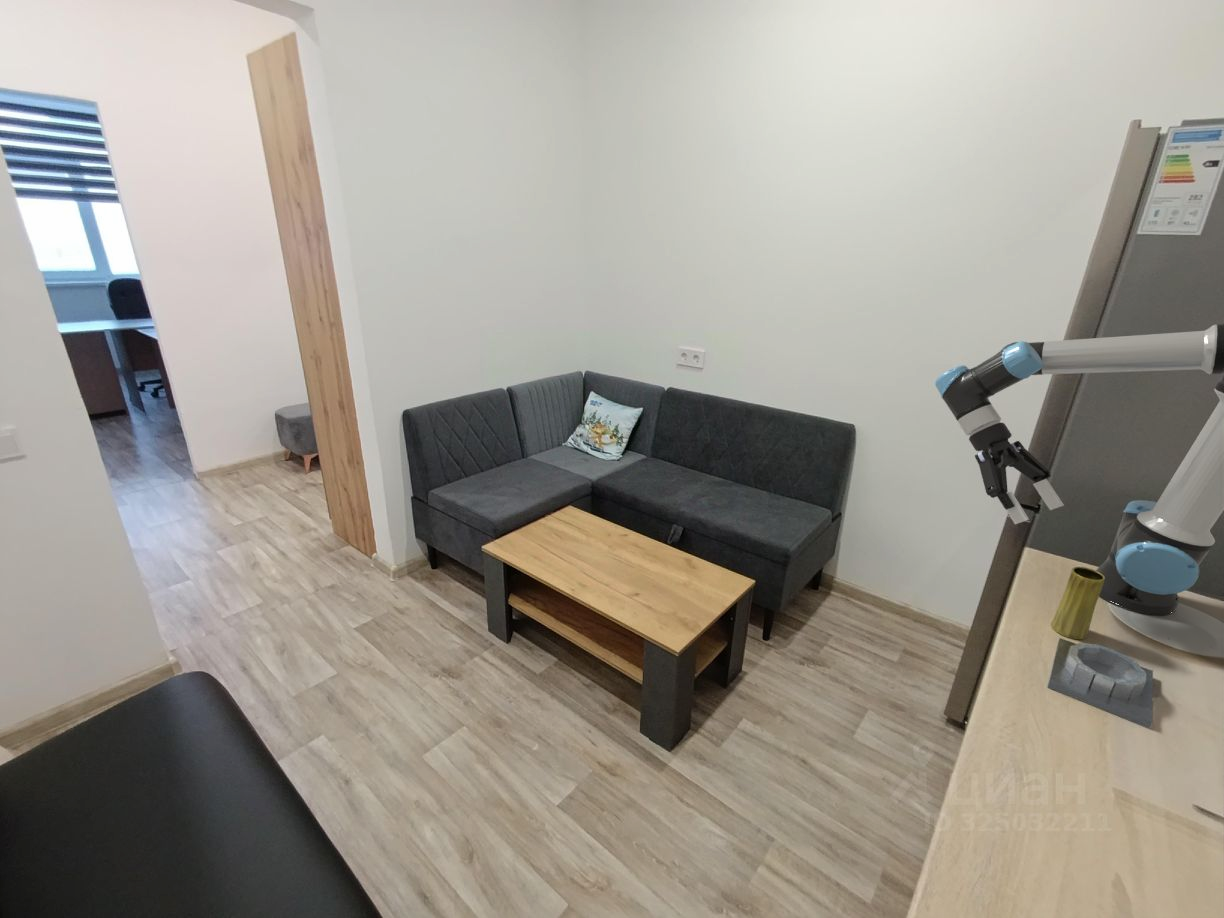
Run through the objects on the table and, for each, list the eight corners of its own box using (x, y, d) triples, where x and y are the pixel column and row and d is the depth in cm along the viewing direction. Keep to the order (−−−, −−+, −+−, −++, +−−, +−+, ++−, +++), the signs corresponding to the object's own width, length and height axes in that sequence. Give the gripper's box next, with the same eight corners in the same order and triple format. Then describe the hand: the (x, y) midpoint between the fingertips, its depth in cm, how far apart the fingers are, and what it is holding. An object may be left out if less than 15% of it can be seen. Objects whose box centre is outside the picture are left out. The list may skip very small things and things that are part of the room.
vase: (1094, 641, 113) (1115, 582, 108) (1061, 638, 114) (1081, 580, 109) (1075, 622, 119) (1095, 566, 113) (1044, 620, 120) (1062, 564, 114)
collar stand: (1057, 643, 112) (1063, 625, 111) (1150, 676, 104) (1158, 658, 102) (1047, 687, 102) (1053, 668, 100) (1149, 728, 93) (1158, 708, 91)
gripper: (1001, 428, 132) (1053, 508, 125) (936, 446, 122) (989, 534, 115) (1031, 413, 126) (1088, 496, 119) (965, 430, 115) (1023, 522, 109)
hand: (1040, 514), depth 117 cm, fingers open, 13 cm apart
